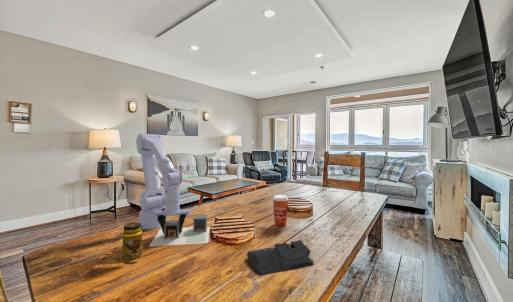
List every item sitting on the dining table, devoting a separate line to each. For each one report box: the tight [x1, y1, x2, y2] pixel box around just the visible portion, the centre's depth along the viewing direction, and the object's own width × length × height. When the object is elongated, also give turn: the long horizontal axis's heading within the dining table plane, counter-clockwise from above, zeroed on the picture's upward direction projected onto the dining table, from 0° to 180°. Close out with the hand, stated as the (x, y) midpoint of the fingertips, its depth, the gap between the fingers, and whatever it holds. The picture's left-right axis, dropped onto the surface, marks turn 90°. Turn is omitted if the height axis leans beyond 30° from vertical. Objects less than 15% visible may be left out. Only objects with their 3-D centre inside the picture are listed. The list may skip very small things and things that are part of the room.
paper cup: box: [272, 194, 289, 228], centre depth 115 cm, size 8×8×14 cm
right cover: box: [193, 213, 208, 232], centre depth 105 cm, size 6×6×6 cm
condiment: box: [122, 221, 144, 265], centre depth 82 cm, size 7×8×12 cm
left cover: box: [164, 218, 180, 239], centre depth 98 cm, size 6×6×6 cm
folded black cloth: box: [246, 239, 315, 276], centre depth 81 cm, size 15×22×5 cm
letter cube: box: [168, 227, 177, 238], centre depth 98 cm, size 3×3×3 cm
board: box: [148, 225, 211, 248], centre depth 99 cm, size 22×18×1 cm
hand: (172, 232), depth 98 cm, fingers open, 6 cm apart
